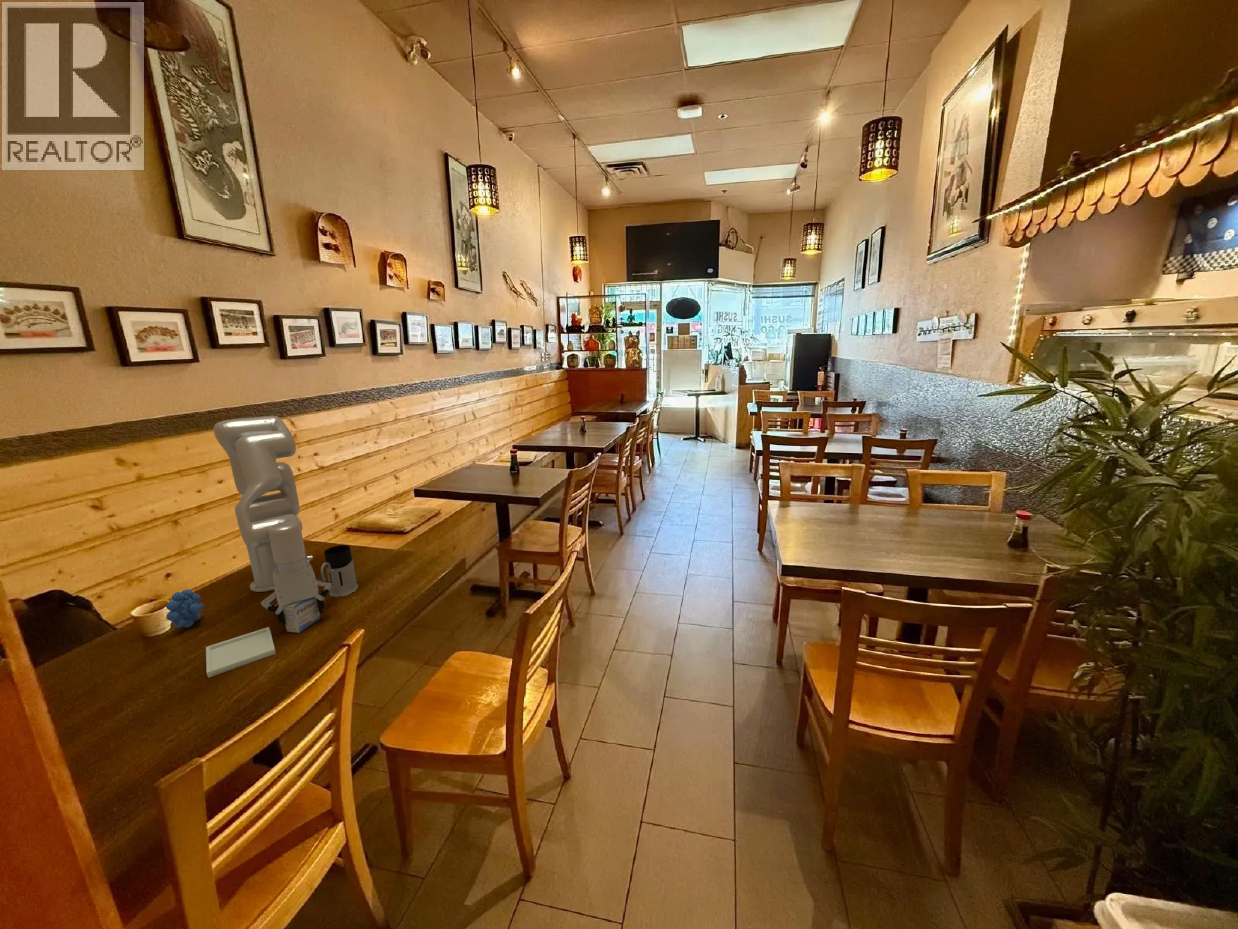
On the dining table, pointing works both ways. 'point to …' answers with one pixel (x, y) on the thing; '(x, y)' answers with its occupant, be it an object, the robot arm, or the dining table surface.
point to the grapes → (184, 608)
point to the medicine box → (301, 614)
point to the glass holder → (340, 570)
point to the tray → (239, 651)
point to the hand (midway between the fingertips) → (302, 617)
